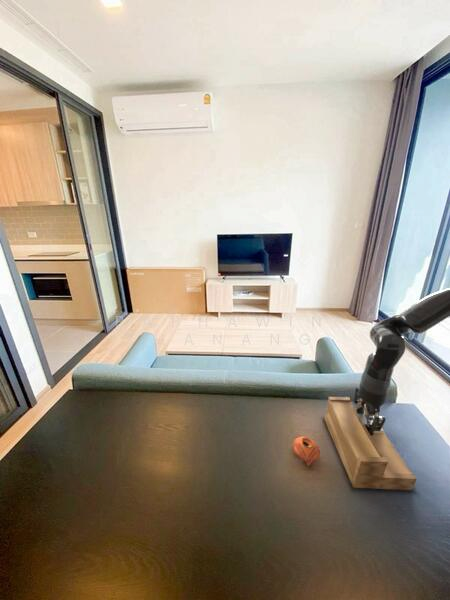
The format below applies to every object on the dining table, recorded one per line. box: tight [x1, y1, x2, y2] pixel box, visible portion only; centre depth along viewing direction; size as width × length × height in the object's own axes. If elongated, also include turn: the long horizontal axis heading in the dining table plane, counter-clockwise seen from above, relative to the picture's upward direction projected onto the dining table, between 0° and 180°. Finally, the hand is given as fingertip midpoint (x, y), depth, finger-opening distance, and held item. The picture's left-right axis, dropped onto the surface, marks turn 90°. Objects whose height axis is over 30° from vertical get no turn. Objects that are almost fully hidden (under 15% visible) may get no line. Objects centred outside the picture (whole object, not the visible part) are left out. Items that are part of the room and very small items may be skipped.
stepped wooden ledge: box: [323, 396, 417, 491], centre depth 77 cm, size 16×23×11 cm
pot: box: [292, 436, 321, 467], centre depth 75 cm, size 8×8×7 cm
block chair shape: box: [358, 414, 385, 433], centre depth 81 cm, size 8×4×4 cm, turn 88°
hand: (363, 425), depth 82 cm, fingers open, 6 cm apart
